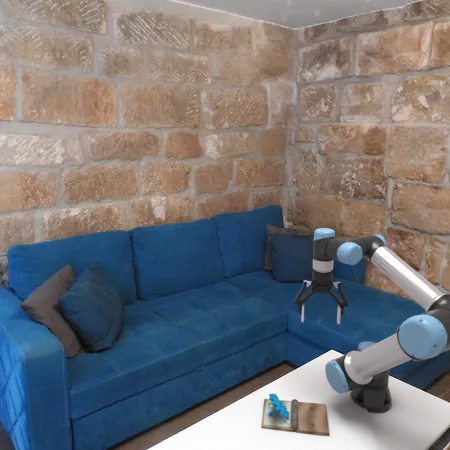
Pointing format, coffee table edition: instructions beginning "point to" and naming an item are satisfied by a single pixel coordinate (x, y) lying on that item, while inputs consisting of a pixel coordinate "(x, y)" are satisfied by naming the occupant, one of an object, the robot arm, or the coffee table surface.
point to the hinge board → (297, 418)
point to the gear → (277, 406)
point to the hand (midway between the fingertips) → (320, 321)
